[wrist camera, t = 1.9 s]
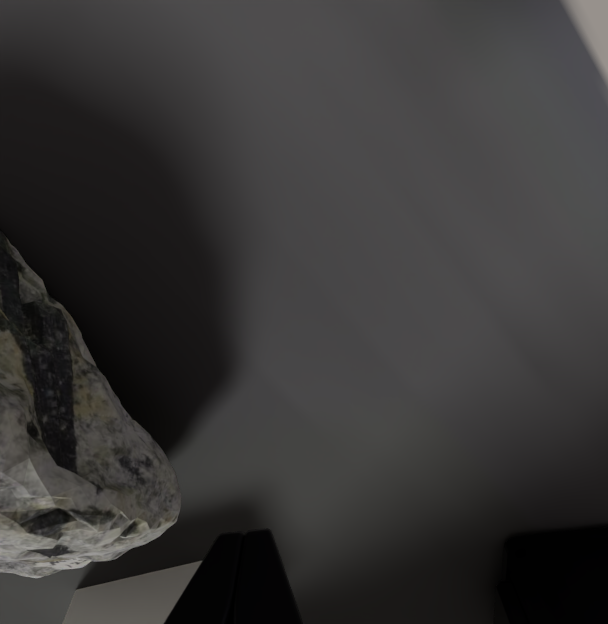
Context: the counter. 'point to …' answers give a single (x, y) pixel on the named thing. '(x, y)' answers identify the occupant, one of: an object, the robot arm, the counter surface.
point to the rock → (67, 443)
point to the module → (131, 598)
